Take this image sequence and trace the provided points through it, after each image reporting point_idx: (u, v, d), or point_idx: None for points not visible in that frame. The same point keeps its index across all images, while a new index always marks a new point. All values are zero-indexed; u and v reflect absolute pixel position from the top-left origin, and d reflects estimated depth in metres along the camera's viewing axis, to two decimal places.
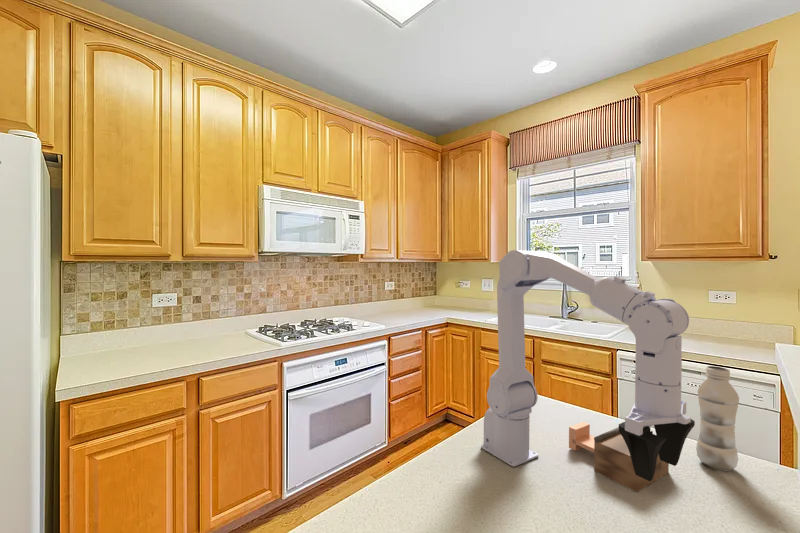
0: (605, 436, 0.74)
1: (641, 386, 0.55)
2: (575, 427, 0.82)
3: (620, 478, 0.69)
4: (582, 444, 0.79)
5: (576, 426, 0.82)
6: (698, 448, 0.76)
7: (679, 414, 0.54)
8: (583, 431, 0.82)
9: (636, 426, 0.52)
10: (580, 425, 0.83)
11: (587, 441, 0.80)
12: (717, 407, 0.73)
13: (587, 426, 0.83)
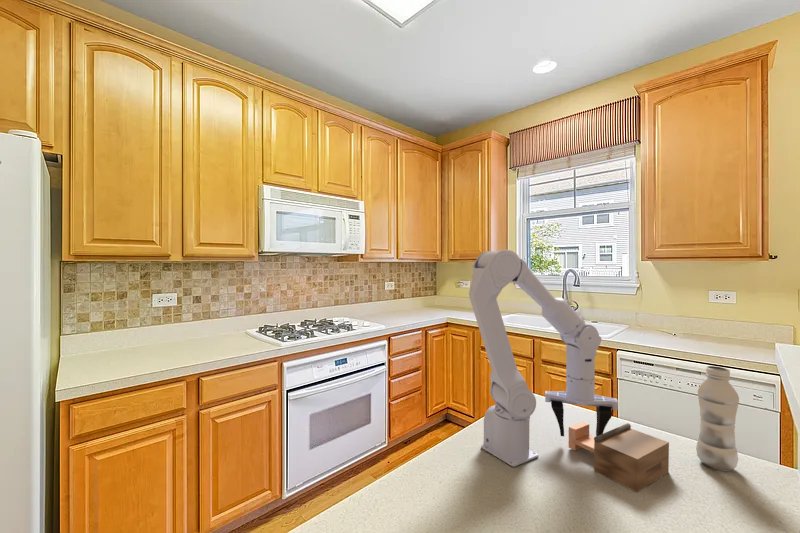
0: (605, 436, 0.74)
1: None
2: (575, 427, 0.82)
3: (620, 478, 0.69)
4: (582, 444, 0.79)
5: (576, 426, 0.82)
6: (698, 448, 0.76)
7: (582, 399, 0.80)
8: (583, 431, 0.82)
9: (545, 396, 0.85)
10: (580, 425, 0.83)
11: (587, 441, 0.80)
12: (717, 407, 0.73)
13: (587, 426, 0.83)
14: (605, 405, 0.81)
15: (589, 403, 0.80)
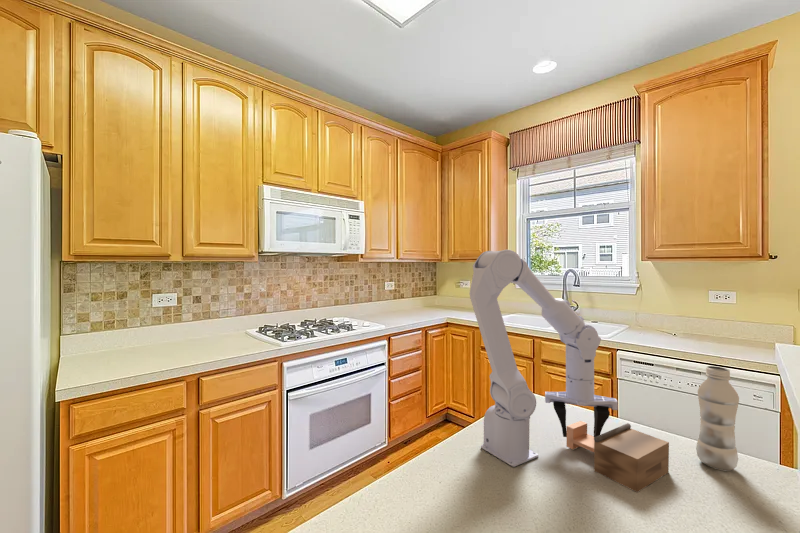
0: (605, 436, 0.74)
1: None
2: (572, 426, 0.82)
3: (620, 478, 0.69)
4: (579, 443, 0.80)
5: (574, 425, 0.83)
6: (698, 448, 0.76)
7: (582, 400, 0.80)
8: (581, 430, 0.83)
9: (545, 396, 0.85)
10: (578, 424, 0.83)
11: (584, 440, 0.81)
12: (717, 407, 0.73)
13: (585, 425, 0.83)
14: (605, 405, 0.81)
15: (589, 403, 0.80)
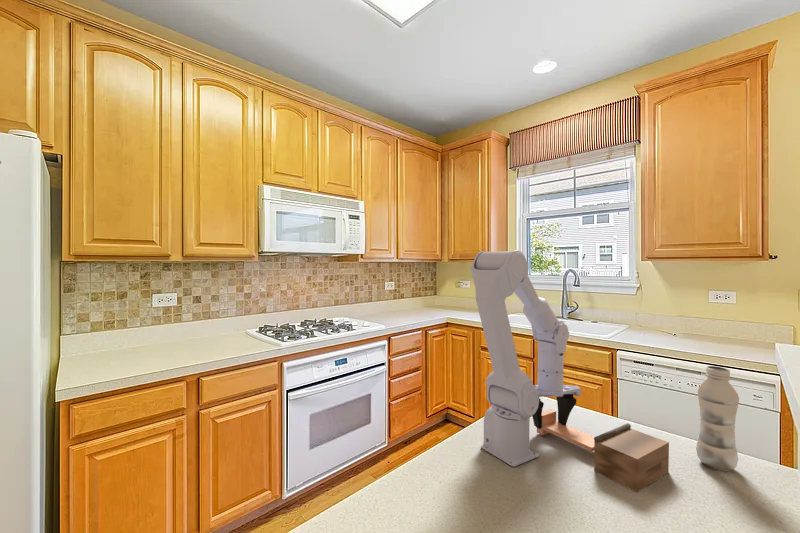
0: (605, 436, 0.74)
1: (538, 372, 0.90)
2: (542, 413, 0.89)
3: (620, 478, 0.69)
4: (548, 429, 0.87)
5: (543, 413, 0.90)
6: (698, 448, 0.76)
7: (557, 391, 0.86)
8: (550, 417, 0.89)
9: None
10: (547, 412, 0.90)
11: (553, 426, 0.88)
12: (717, 407, 0.73)
13: (554, 413, 0.90)
14: (570, 393, 0.89)
15: (562, 393, 0.86)
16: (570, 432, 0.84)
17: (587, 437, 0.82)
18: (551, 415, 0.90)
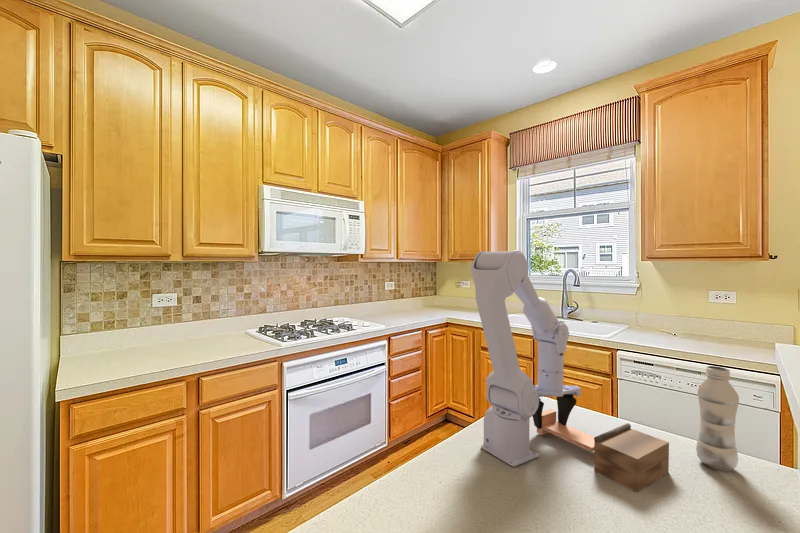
0: (605, 436, 0.74)
1: (538, 372, 0.90)
2: (542, 413, 0.89)
3: (620, 478, 0.69)
4: (548, 429, 0.87)
5: (543, 413, 0.90)
6: (698, 448, 0.76)
7: (557, 391, 0.86)
8: (550, 417, 0.89)
9: None
10: (547, 412, 0.90)
11: (553, 426, 0.88)
12: (717, 407, 0.73)
13: (554, 413, 0.90)
14: (570, 393, 0.89)
15: (562, 393, 0.86)
16: (570, 432, 0.84)
17: (587, 437, 0.82)
18: (551, 415, 0.90)
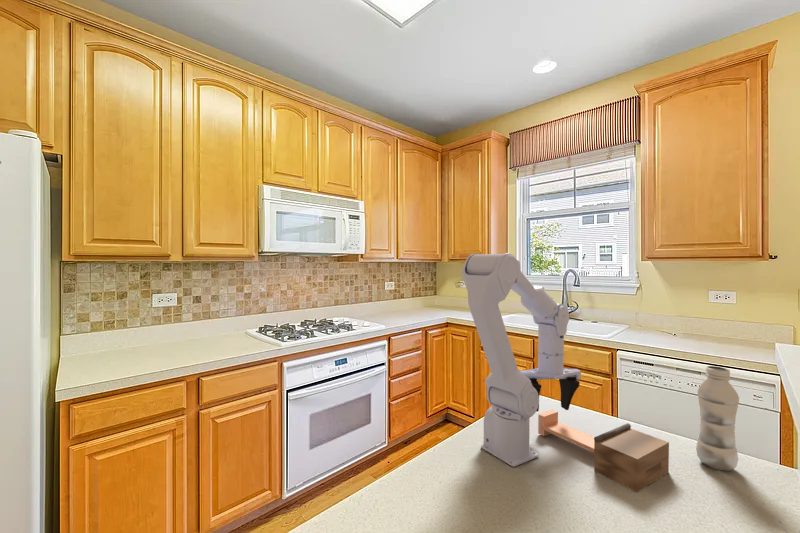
0: (605, 436, 0.74)
1: (538, 355, 0.90)
2: (544, 414, 0.89)
3: (620, 478, 0.69)
4: (549, 429, 0.86)
5: (545, 413, 0.89)
6: (698, 448, 0.76)
7: (557, 373, 0.86)
8: (551, 418, 0.89)
9: None
10: (549, 413, 0.89)
11: (554, 427, 0.87)
12: (717, 407, 0.73)
13: (555, 413, 0.90)
14: (570, 376, 0.89)
15: (562, 376, 0.87)
16: (571, 433, 0.84)
17: (589, 438, 0.82)
18: (553, 416, 0.89)
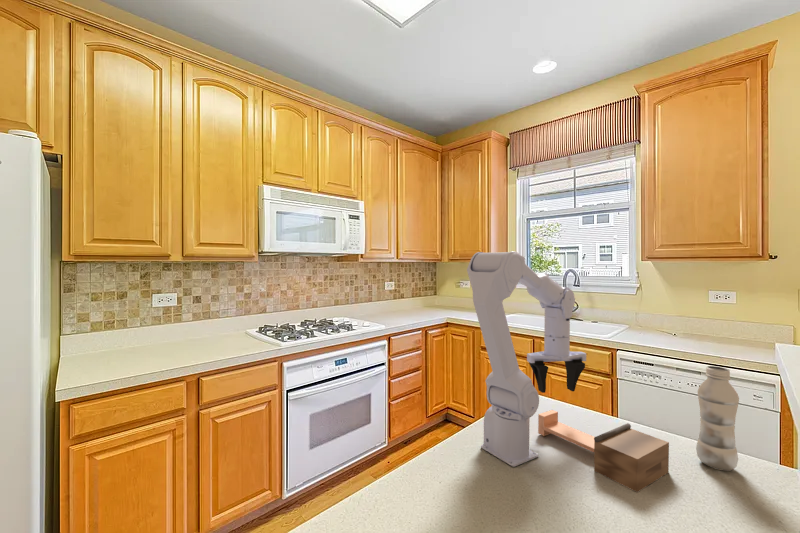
0: (605, 436, 0.74)
1: (544, 338, 0.92)
2: (544, 414, 0.89)
3: (620, 478, 0.69)
4: (549, 429, 0.86)
5: (545, 413, 0.89)
6: (698, 448, 0.76)
7: (563, 355, 0.88)
8: (551, 418, 0.89)
9: (530, 357, 0.89)
10: (549, 413, 0.89)
11: (554, 427, 0.87)
12: (717, 407, 0.73)
13: (555, 413, 0.90)
14: (576, 358, 0.91)
15: (568, 358, 0.89)
16: (571, 433, 0.84)
17: (589, 438, 0.82)
18: (553, 416, 0.89)
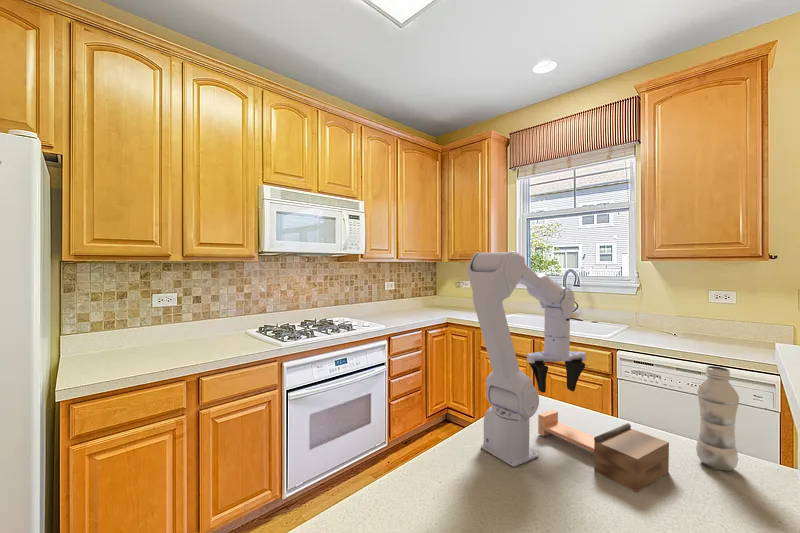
0: (605, 436, 0.74)
1: (544, 338, 0.92)
2: (544, 414, 0.89)
3: (620, 478, 0.69)
4: (549, 429, 0.86)
5: (545, 413, 0.89)
6: (698, 448, 0.76)
7: (563, 355, 0.88)
8: (551, 418, 0.89)
9: (530, 357, 0.89)
10: (549, 413, 0.89)
11: (554, 427, 0.87)
12: (717, 407, 0.73)
13: (555, 413, 0.90)
14: (576, 358, 0.91)
15: (568, 358, 0.89)
16: (571, 433, 0.84)
17: (589, 438, 0.82)
18: (553, 416, 0.89)
